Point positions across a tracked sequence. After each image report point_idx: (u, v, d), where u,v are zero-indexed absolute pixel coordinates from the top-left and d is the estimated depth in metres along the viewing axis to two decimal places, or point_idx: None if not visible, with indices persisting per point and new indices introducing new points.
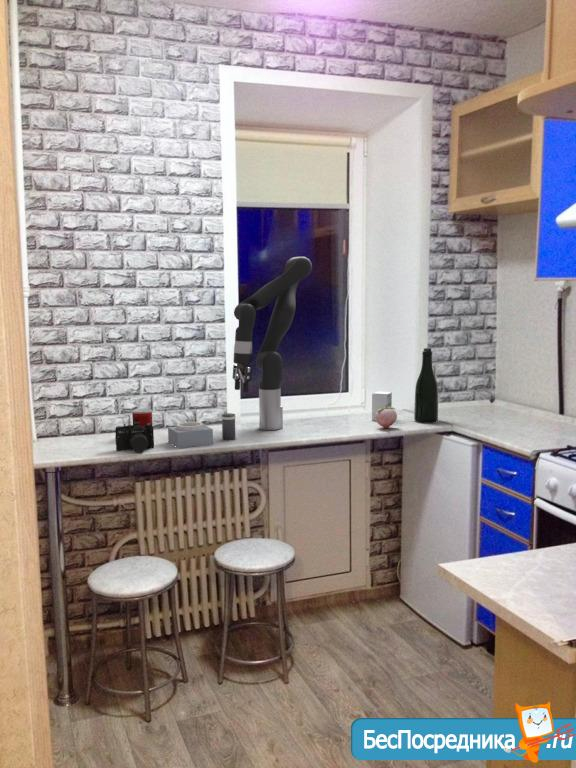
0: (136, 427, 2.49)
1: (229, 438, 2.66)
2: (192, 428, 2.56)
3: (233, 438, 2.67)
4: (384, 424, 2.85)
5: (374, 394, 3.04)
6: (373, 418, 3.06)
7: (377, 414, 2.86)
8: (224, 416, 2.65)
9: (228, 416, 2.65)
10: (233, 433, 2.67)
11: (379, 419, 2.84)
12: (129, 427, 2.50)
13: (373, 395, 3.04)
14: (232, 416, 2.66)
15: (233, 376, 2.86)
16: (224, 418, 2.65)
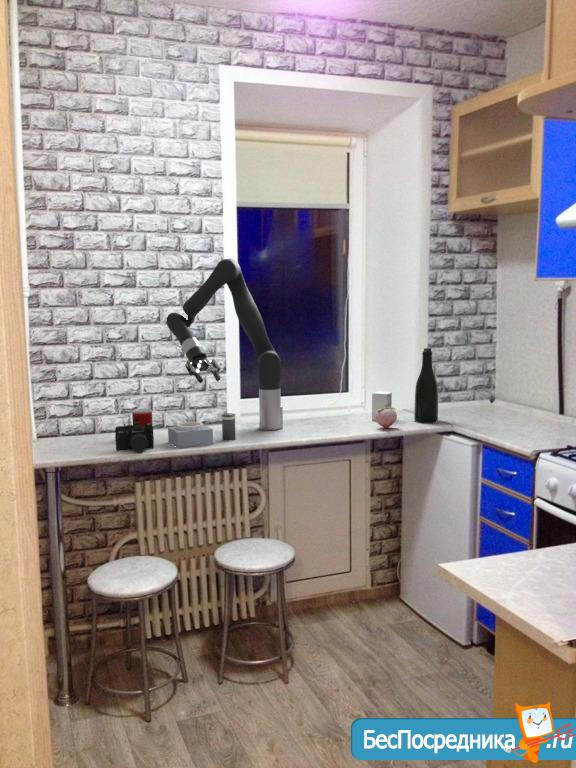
0: (136, 427, 2.49)
1: (229, 438, 2.66)
2: (192, 428, 2.56)
3: (233, 438, 2.67)
4: (384, 424, 2.85)
5: (374, 394, 3.04)
6: (373, 418, 3.06)
7: (377, 414, 2.86)
8: (224, 416, 2.65)
9: (228, 416, 2.65)
10: (233, 433, 2.67)
11: (379, 419, 2.84)
12: (129, 427, 2.50)
13: (373, 395, 3.04)
14: (232, 416, 2.66)
15: None
16: (224, 418, 2.65)
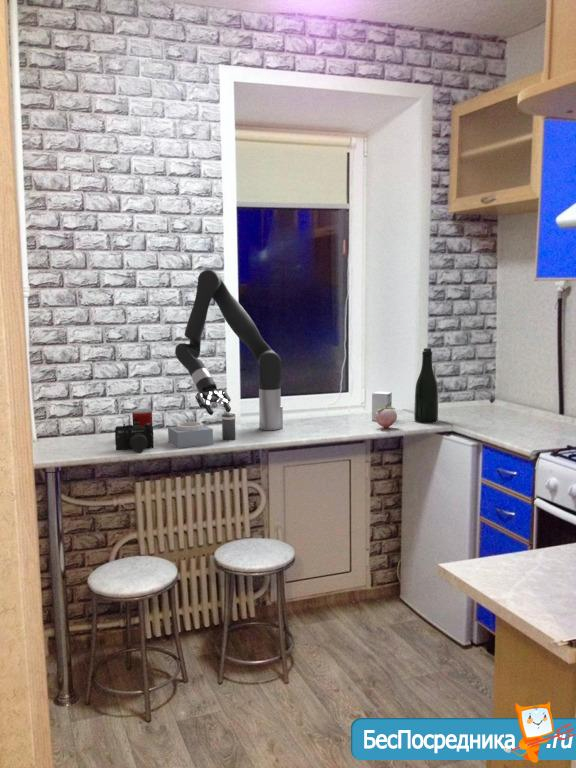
0: (136, 427, 2.50)
1: (229, 438, 2.66)
2: (192, 428, 2.56)
3: (233, 438, 2.67)
4: (384, 424, 2.85)
5: (374, 394, 3.04)
6: (373, 418, 3.06)
7: (377, 414, 2.86)
8: (224, 416, 2.65)
9: (228, 416, 2.65)
10: (233, 433, 2.67)
11: (379, 419, 2.84)
12: (129, 427, 2.50)
13: (373, 395, 3.04)
14: (232, 416, 2.66)
15: None
16: (224, 418, 2.65)
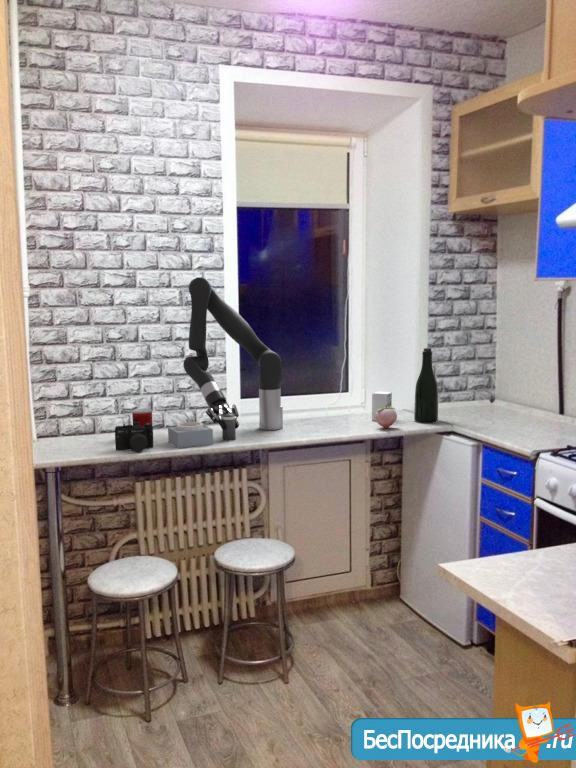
0: (135, 427, 2.50)
1: (229, 438, 2.66)
2: (192, 428, 2.56)
3: (233, 438, 2.67)
4: (384, 424, 2.85)
5: (374, 394, 3.04)
6: (373, 418, 3.06)
7: (377, 414, 2.86)
8: (224, 416, 2.65)
9: (228, 416, 2.65)
10: (233, 433, 2.67)
11: (379, 419, 2.84)
12: (128, 427, 2.51)
13: (373, 395, 3.04)
14: (232, 416, 2.66)
15: None
16: (224, 418, 2.65)
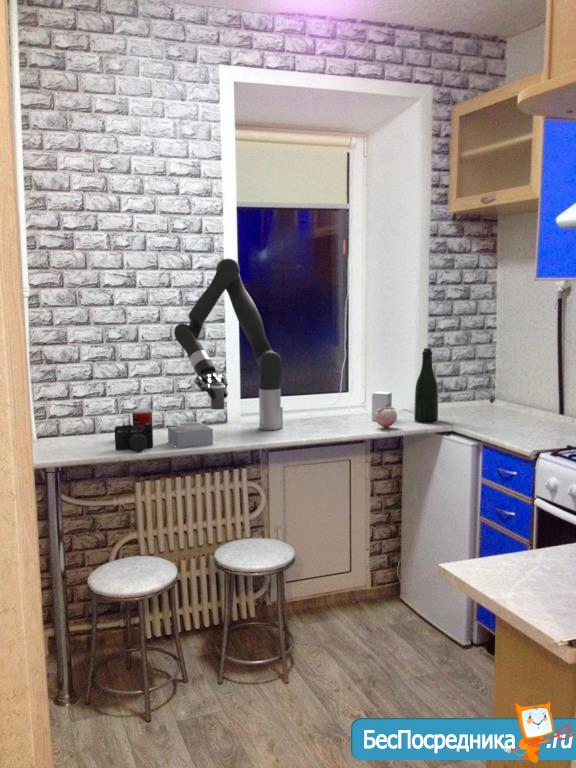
0: (135, 426, 2.50)
1: (217, 407, 2.63)
2: (192, 428, 2.56)
3: (222, 407, 2.64)
4: (384, 424, 2.85)
5: (374, 394, 3.04)
6: (373, 418, 3.06)
7: (377, 414, 2.86)
8: (213, 384, 2.62)
9: (217, 385, 2.62)
10: (222, 402, 2.63)
11: (379, 419, 2.84)
12: (128, 426, 2.51)
13: (373, 395, 3.04)
14: (221, 385, 2.62)
15: None
16: (213, 387, 2.62)
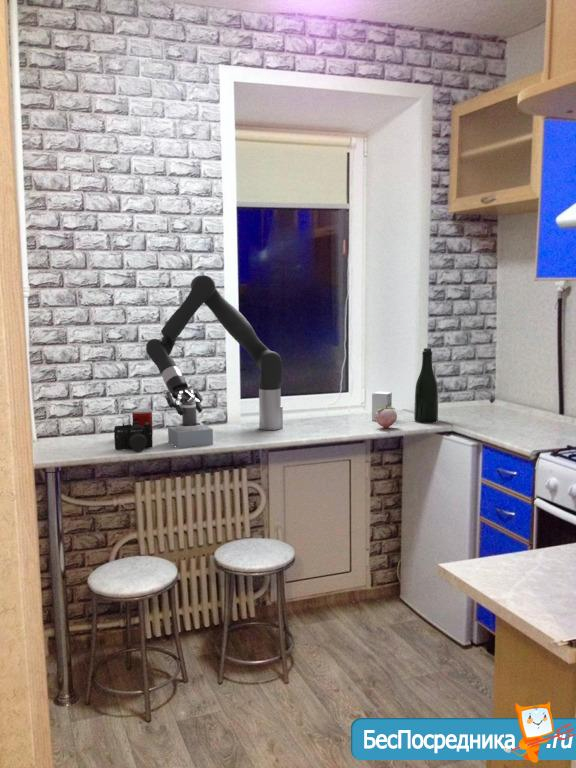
0: (135, 426, 2.51)
1: None
2: (192, 428, 2.56)
3: None
4: (384, 424, 2.85)
5: (374, 394, 3.04)
6: (373, 418, 3.06)
7: (377, 414, 2.86)
8: (184, 404, 2.57)
9: (188, 404, 2.57)
10: (193, 422, 2.59)
11: (379, 419, 2.84)
12: (128, 426, 2.51)
13: (373, 395, 3.04)
14: (192, 404, 2.58)
15: None
16: (184, 406, 2.57)
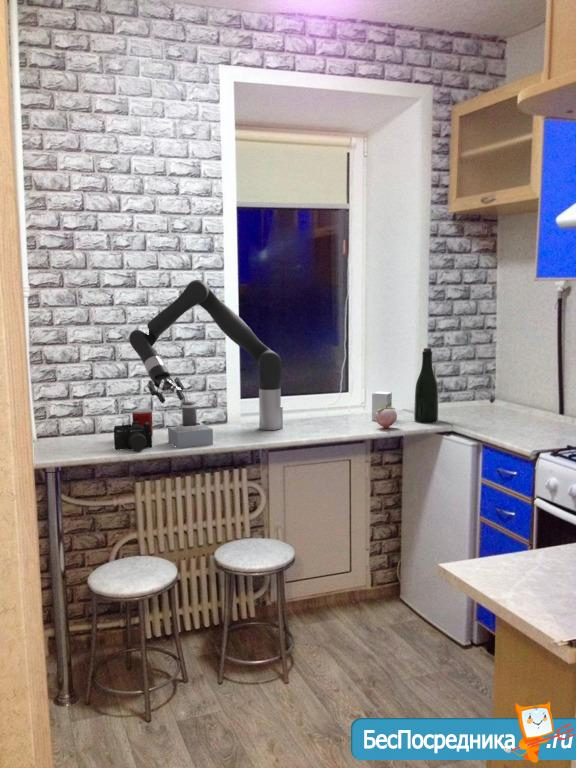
0: (134, 426, 2.51)
1: None
2: (192, 428, 2.56)
3: None
4: (384, 424, 2.85)
5: (374, 394, 3.04)
6: (373, 418, 3.06)
7: (377, 414, 2.86)
8: (184, 404, 2.57)
9: (188, 404, 2.57)
10: (193, 422, 2.59)
11: (379, 419, 2.84)
12: (127, 426, 2.52)
13: (373, 395, 3.04)
14: (192, 404, 2.58)
15: None
16: (184, 406, 2.57)
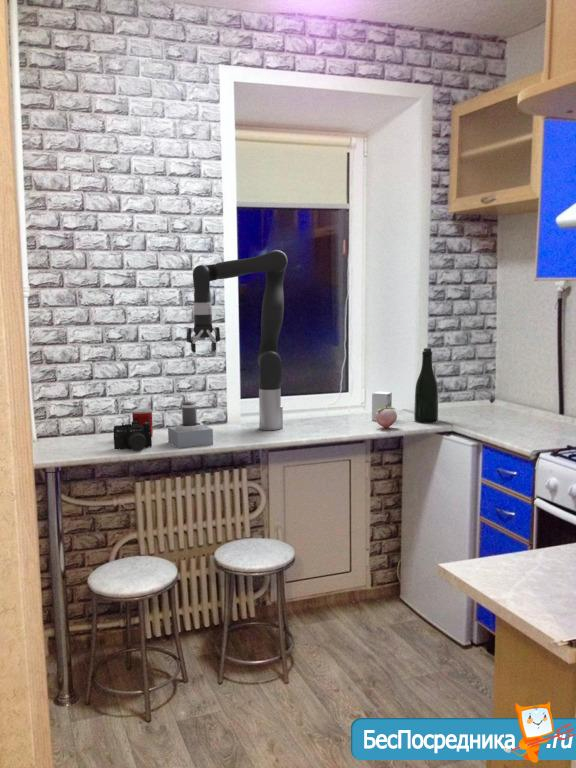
0: (134, 426, 2.51)
1: None
2: (192, 428, 2.56)
3: None
4: (384, 424, 2.85)
5: (374, 394, 3.04)
6: (373, 418, 3.06)
7: (377, 414, 2.86)
8: (184, 404, 2.57)
9: (188, 404, 2.57)
10: (193, 422, 2.59)
11: (379, 419, 2.84)
12: (127, 426, 2.52)
13: (373, 395, 3.04)
14: (192, 404, 2.58)
15: (216, 338, 2.88)
16: (184, 406, 2.57)
